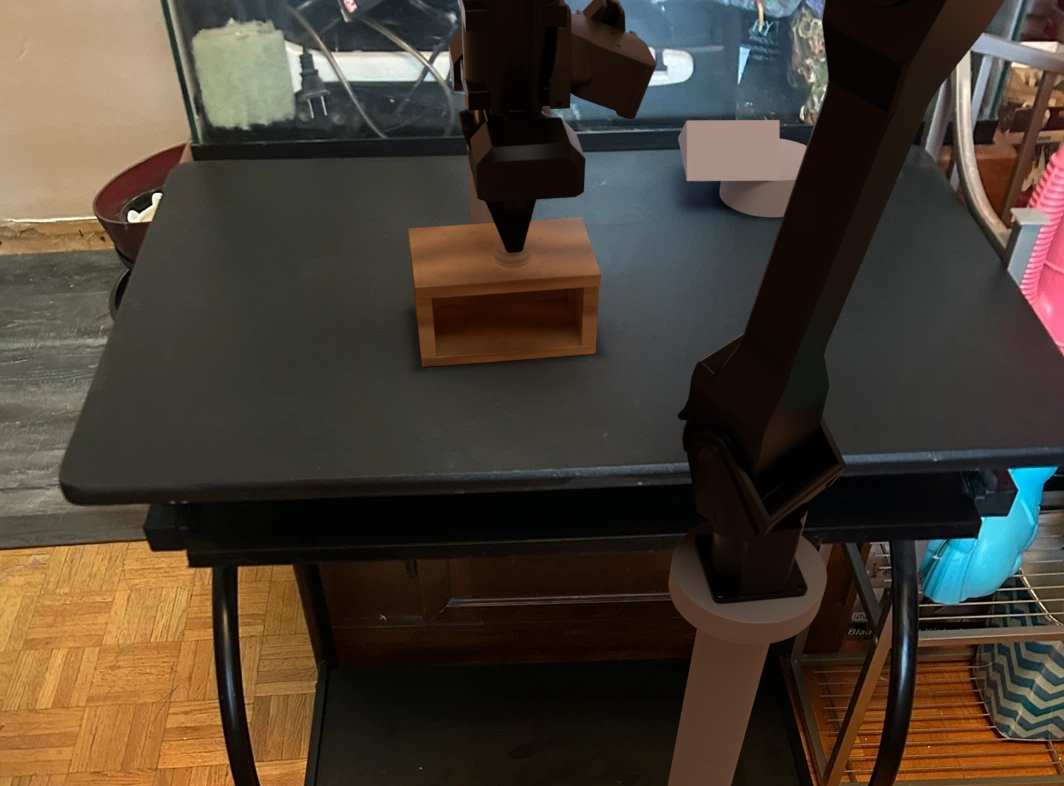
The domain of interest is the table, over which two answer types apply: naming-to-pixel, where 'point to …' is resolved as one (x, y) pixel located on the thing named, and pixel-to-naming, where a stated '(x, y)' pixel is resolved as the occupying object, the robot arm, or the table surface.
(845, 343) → the table surface
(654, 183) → the table surface
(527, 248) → the pawn
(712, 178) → the wedge on round base
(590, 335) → the shelf
